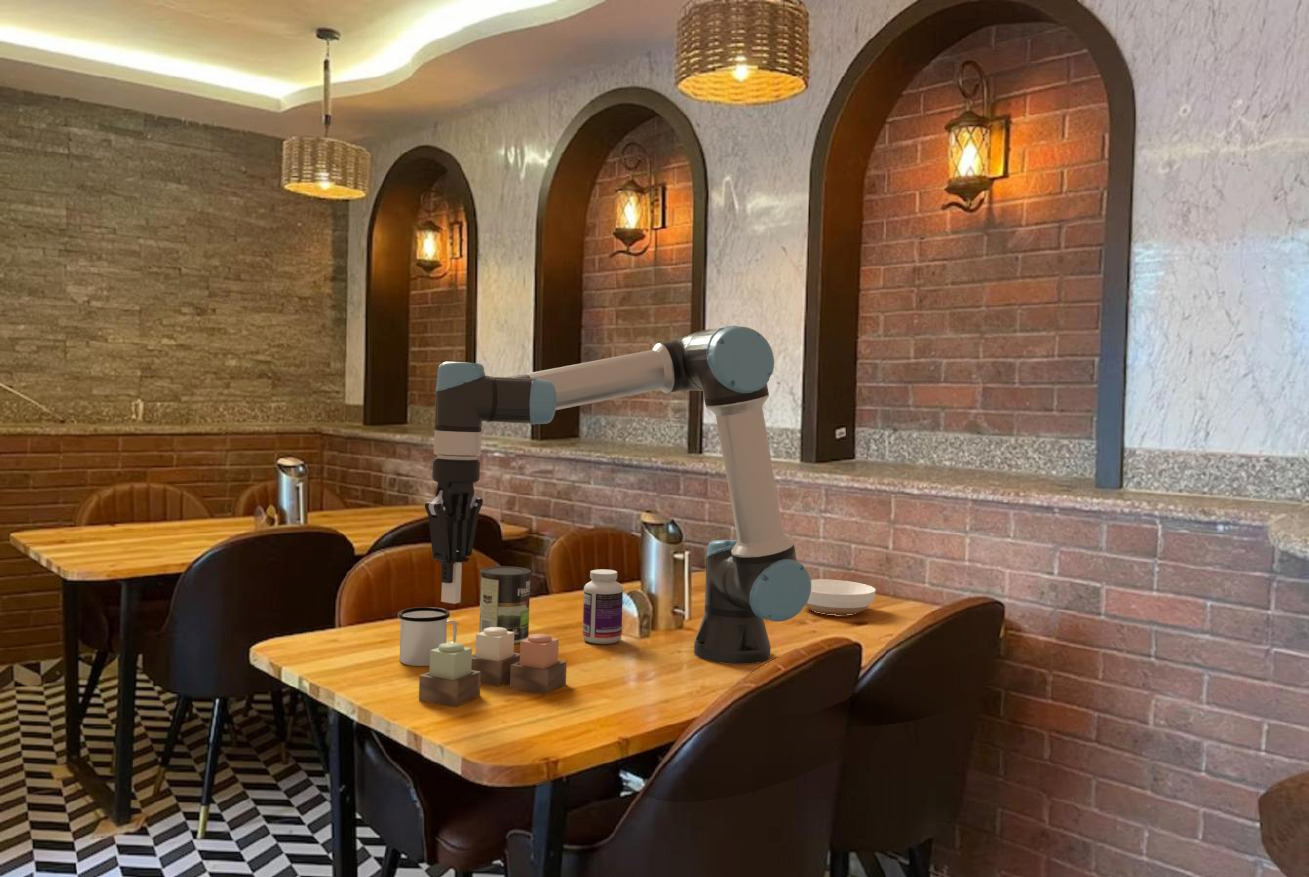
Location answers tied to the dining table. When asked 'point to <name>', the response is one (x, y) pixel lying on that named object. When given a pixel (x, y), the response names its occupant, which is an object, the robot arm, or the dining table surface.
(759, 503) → the robot arm
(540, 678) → the collar brown
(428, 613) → the mug
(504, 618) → the coffee can
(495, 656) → the cap cream
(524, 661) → the cap terracotta
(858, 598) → the bowl
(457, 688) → the brown square tray
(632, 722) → the dining table surface
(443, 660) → the cap sage
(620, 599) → the pill bottle
